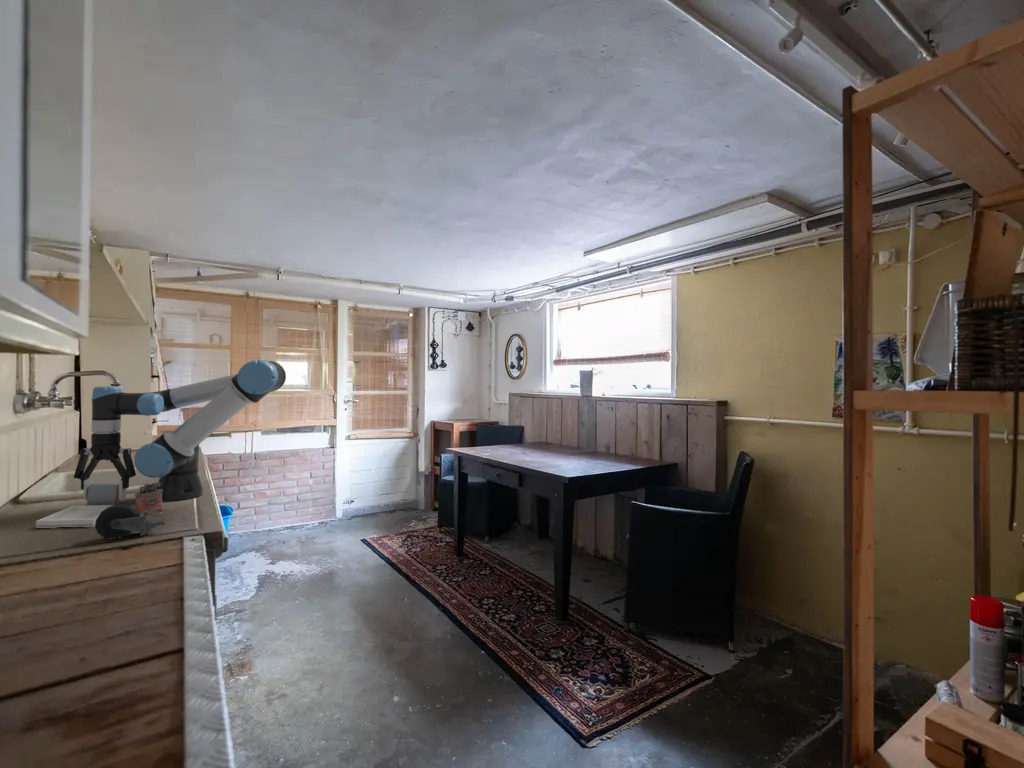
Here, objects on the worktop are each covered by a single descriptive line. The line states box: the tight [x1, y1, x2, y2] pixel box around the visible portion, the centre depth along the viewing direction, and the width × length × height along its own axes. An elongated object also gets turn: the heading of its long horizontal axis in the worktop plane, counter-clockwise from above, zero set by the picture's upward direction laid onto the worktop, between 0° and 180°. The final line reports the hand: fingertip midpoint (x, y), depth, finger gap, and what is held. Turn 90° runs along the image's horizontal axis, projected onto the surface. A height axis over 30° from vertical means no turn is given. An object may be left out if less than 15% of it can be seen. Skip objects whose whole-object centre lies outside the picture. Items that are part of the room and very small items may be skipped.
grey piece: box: [86, 483, 121, 506], centre depth 163 cm, size 11×8×8 cm
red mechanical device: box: [134, 481, 163, 517], centre depth 155 cm, size 8×3×10 cm, turn 162°
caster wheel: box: [94, 504, 165, 539], centre depth 135 cm, size 6×10×15 cm
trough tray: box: [35, 504, 113, 528], centre depth 147 cm, size 14×16×2 cm
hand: (105, 498), depth 161 cm, fingers closed on grey piece, 9 cm apart
